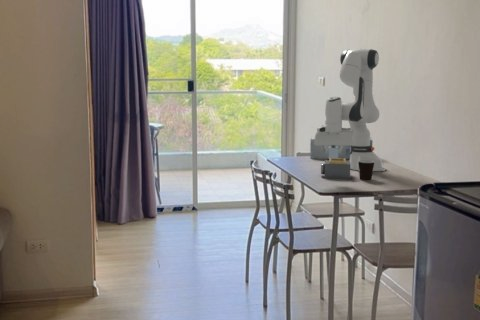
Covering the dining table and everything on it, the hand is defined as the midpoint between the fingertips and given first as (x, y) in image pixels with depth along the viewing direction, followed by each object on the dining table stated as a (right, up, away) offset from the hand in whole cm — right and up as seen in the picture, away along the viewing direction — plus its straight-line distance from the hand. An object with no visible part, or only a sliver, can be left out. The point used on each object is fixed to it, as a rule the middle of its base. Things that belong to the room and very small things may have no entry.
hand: (333, 153), depth 312 cm
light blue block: (0, -2, 0) cm, 2 cm away
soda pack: (+17, -2, +78) cm, 80 cm away
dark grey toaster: (+5, -13, +17) cm, 21 cm away
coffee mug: (+20, -14, +10) cm, 26 cm away
